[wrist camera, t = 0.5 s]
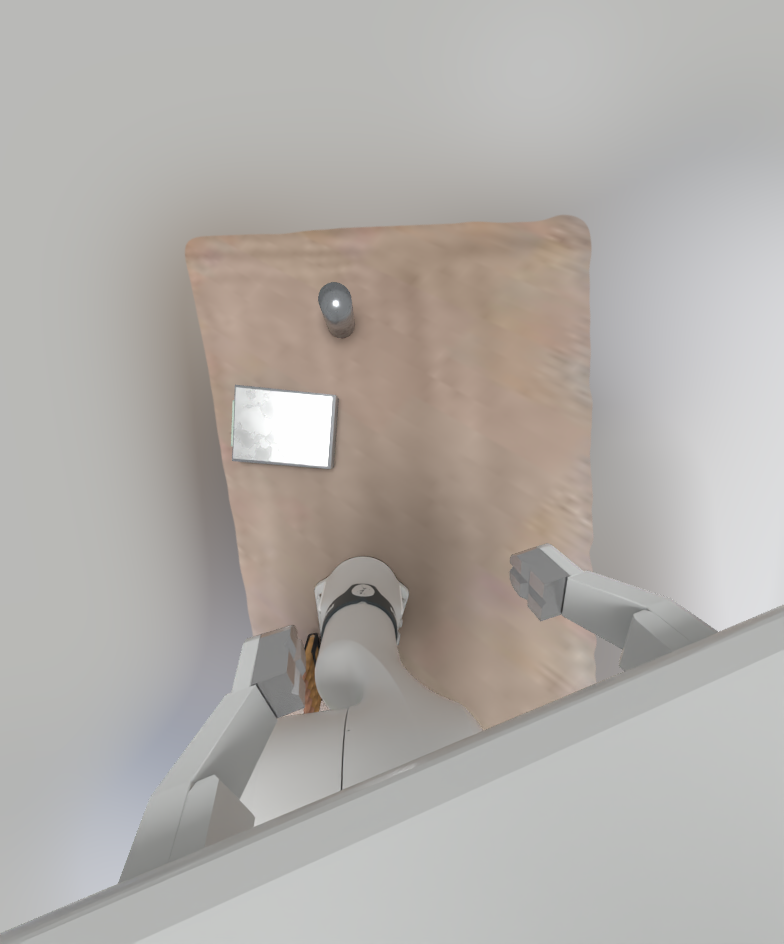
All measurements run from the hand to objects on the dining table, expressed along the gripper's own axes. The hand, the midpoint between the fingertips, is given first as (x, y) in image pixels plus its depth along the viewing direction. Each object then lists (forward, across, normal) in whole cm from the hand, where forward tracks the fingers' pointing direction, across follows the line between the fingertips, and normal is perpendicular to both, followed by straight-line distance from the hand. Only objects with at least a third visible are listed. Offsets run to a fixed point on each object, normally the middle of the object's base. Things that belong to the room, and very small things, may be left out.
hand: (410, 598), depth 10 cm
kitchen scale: (+48, -9, -4) cm, 49 cm away
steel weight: (+52, +5, +12) cm, 54 cm away
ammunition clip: (+34, -16, -48) cm, 61 cm away
